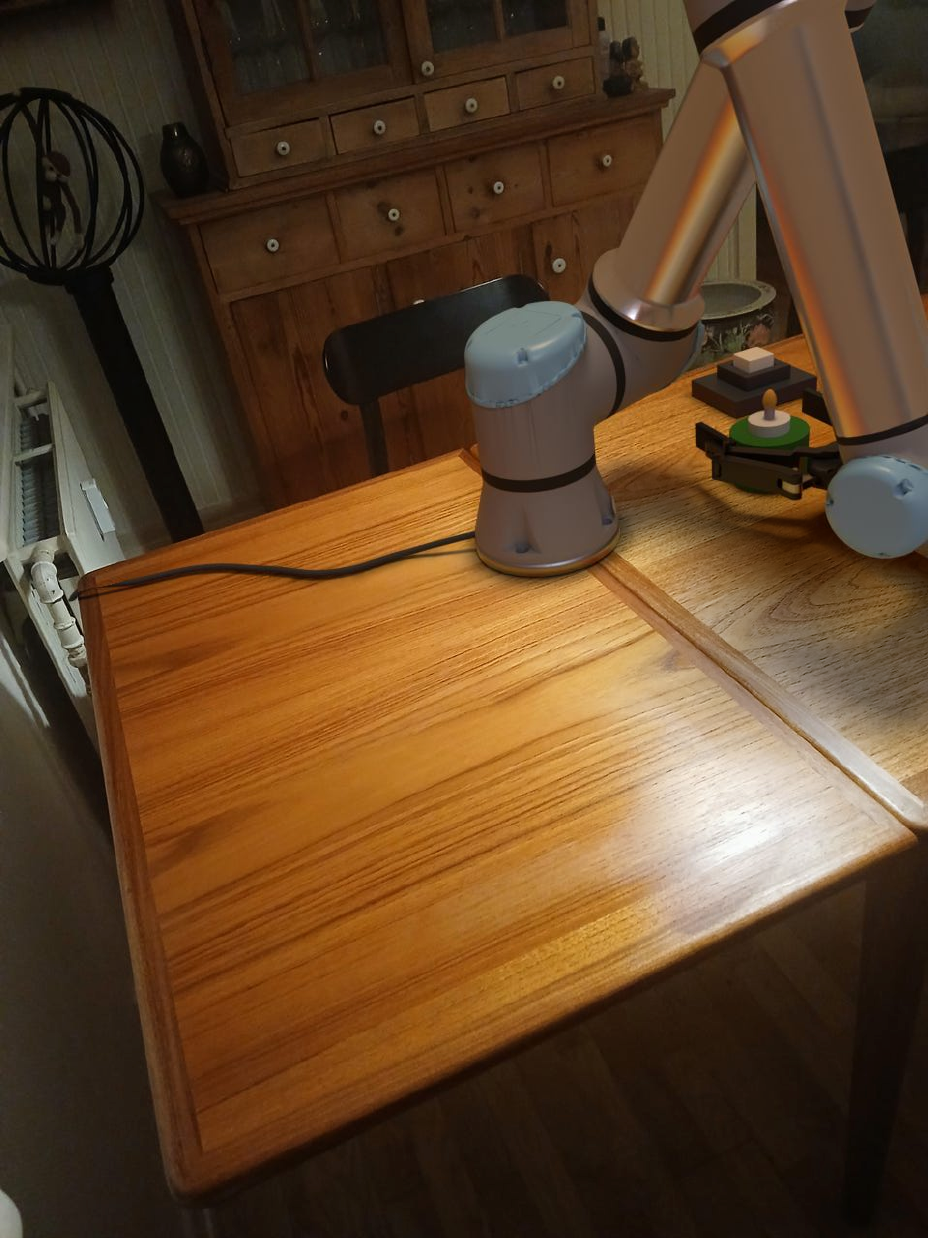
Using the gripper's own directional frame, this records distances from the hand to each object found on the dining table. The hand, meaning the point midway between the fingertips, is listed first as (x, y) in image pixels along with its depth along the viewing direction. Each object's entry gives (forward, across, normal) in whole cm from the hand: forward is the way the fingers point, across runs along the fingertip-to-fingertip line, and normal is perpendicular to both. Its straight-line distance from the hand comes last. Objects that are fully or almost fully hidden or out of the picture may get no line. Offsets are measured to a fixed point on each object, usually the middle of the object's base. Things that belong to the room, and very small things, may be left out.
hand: (752, 416), depth 104 cm
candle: (-3, 0, -6) cm, 7 cm away
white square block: (+17, +12, -2) cm, 21 cm away
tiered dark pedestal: (+17, +12, -6) cm, 22 cm away
